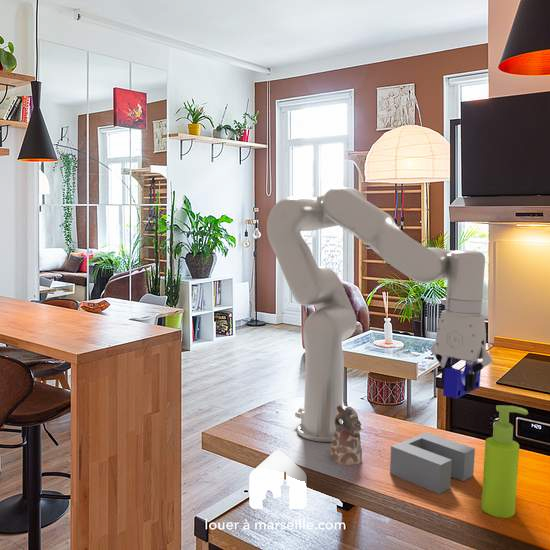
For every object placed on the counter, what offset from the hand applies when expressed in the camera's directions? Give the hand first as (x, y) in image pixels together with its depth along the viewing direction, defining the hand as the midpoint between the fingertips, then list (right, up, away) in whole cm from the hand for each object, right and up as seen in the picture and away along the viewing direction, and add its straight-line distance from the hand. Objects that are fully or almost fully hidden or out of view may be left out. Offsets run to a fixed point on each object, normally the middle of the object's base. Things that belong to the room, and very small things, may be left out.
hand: (458, 386), depth 130 cm
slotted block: (-8, -18, -6) cm, 20 cm away
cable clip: (0, -1, 0) cm, 1 cm away
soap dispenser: (+2, -20, -20) cm, 28 cm away
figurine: (-25, -17, +1) cm, 30 cm away
